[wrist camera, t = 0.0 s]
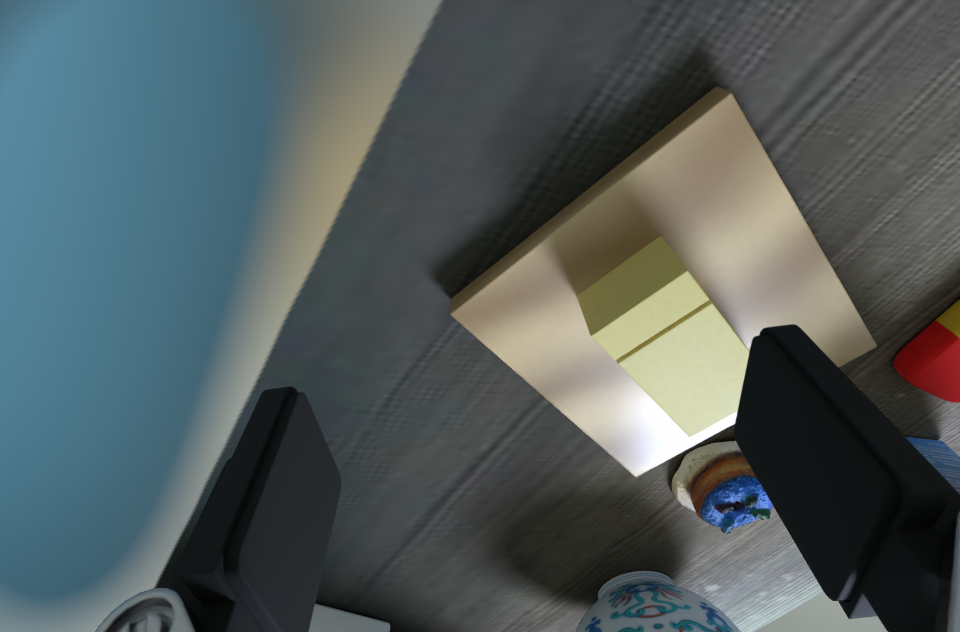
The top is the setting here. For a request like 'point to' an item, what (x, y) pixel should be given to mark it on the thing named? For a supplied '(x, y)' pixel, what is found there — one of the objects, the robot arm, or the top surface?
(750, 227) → the cutting board
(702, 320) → the butter block
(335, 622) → the gable box
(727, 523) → the dessert
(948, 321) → the popsicle
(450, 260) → the top surface
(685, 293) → the butter slice
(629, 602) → the chinaware
